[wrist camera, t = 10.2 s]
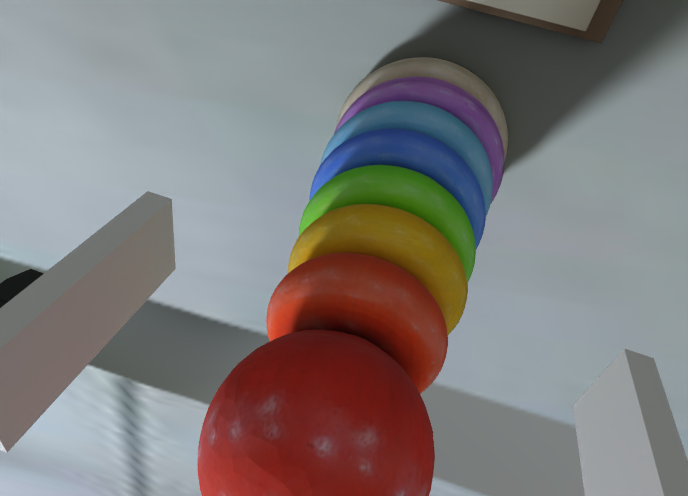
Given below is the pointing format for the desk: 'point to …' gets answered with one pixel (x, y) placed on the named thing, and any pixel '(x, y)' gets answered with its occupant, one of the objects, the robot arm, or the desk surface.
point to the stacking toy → (365, 296)
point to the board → (553, 14)
